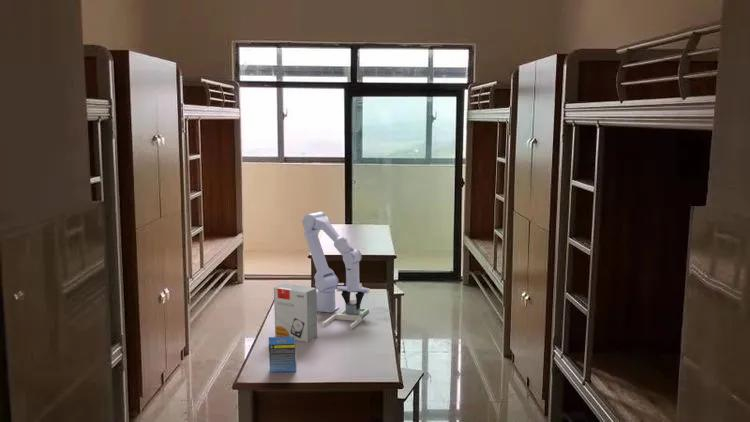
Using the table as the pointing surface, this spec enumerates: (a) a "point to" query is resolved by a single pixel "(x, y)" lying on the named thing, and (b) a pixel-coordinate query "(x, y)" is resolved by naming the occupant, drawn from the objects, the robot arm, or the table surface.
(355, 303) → the grey rectangular block
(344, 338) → the table surface
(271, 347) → the label tape cartridge
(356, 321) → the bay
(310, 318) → the hard drive box
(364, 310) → the tray
